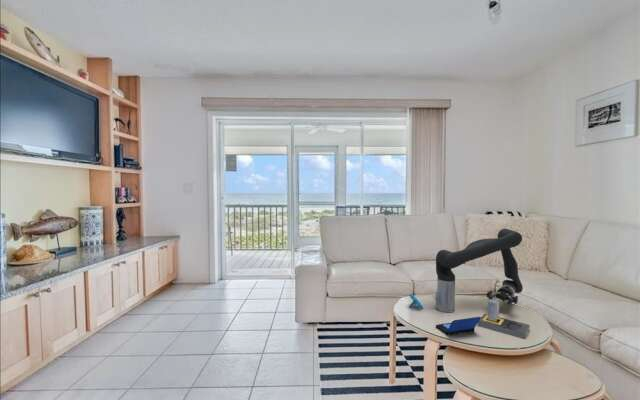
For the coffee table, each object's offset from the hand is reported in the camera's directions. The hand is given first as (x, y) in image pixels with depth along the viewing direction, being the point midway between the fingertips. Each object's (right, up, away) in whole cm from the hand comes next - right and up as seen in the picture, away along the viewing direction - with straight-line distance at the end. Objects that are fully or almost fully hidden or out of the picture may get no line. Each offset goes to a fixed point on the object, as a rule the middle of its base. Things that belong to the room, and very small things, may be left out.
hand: (499, 300), depth 165 cm
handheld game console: (-29, -10, -15) cm, 34 cm away
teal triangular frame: (-40, -9, +14) cm, 43 cm away
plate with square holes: (-5, -10, -12) cm, 16 cm away
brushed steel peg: (-8, -10, -8) cm, 15 cm away
